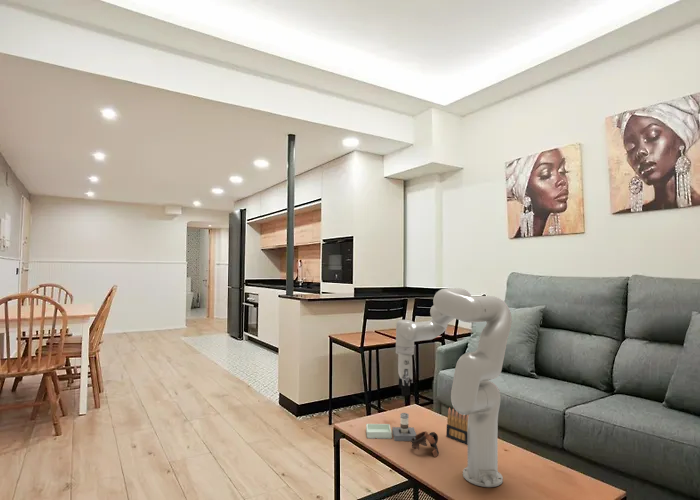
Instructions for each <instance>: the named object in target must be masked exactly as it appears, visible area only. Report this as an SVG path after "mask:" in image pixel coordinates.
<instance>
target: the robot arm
mask: <svg viewBox="0 0 700 500" xmlns="http://www.w3.org/2000/svg"><path fill="white" fill-rule="evenodd" d="M432 302H433V305H432V306H431V307H430V311H429V313H430V314H429V315H430V317H431V319H429V320H427V321H426V320H425V321H424V320H423V321H413V320H410V319H399V320H397V321H396V323H395V324H396V325H395V330H396V331H395V335H396V336H395V354H396V355H398V357H397V360H398V361H397V366H398V367H397V369H398V371H397V372H398V376H399V378H398V389H401V395H402V396H411V383H410V382H411V381H410V380H413V376H414V375H413V355H415V342H420V341H421V342H422V341H432V340H433V339H436V338H438V337H439V336H441V334H443V333H444V332H445V331H446V330H447V328H448V325H449V323H451V322H452V321H453V320H458V321H461V322H464V323H469V324H470V323H471V324H472V323H485V324H486V325H485V326H484V328H483V329H482V330H481V333H480V335H479V339H478V345H477V348H476V350H475V351H470V352H465V353H464V354H462V355H461V356H460V357H458V358H459V359H458V360H457V362H456V364H455V368H454V374H453V380H452V385H451V390H450V401H451V404H452V407H453V409H454V411H455V412H456V411H457V412H458V415H459V414H462V416H463V415H465V416H467V415H469V417H468V445H467V466H466V467H464V468H463V469H462V477H463V478H464V480H465V481H467V482H469V483H470V484H472V485H475V486H478V487H483V488H495V487H498V486H500V485H502V484H503V482H504V478H503V474H501V472H499V471H498V469H499V468H498V466H499V465H498V462H499V460H498V458H499V457H498V453H499V451H498V449H499V448H498V428H499V427H498V426H499V425H498V423H499V413H500V412H499V411H500V406H501V401H502V400H501V392H500V390H499V388H498V386H497V385H496V384H495V383H494V382H492V380H495V379H497V378H498V377H499V376H500V375H501V373H502V370H503V364H504V359H505V354H506V350H507V349H506V348H507V344H508V339H509V335H510V332H511V328H512V322H513V321H512V312H511V309H510V308H509V306H508V305H507V303H506V302H505V301H504V300H503V299H501V298H500V297H497V296H493V295H479V296H474V295H473V296H472V294H471V293H470V292H469V291H468V290H465V288H459V287H458V288H457V287H456V288H442V289H439V290H438V291H436V292H435V294H434V297H433V301H432Z"/></svg>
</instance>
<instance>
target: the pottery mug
mask: <svg viewBox="0 0 700 500" xmlns="http://www.w3.org/2000/svg"><path fill="white" fill-rule="evenodd" d="M415 438H416V439H415V440H414V438H412V439H411V441H410V443H411V448H412V449H417V450H419V449H420V445H421V446H424V447H427V446H428V444H427V442H428V443H429V446H430V447H431V448H433V450H432V451H431V454H432V455H433V458H436V457H437V456H438V455H439V453H440V452H439V447H438V446H437V445H438V441H439V436H438V434H437V433H436V432H435V431H432V432H430V433H428V432H427V431H422V432H419V433H418V434H416V436H415Z"/></svg>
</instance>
